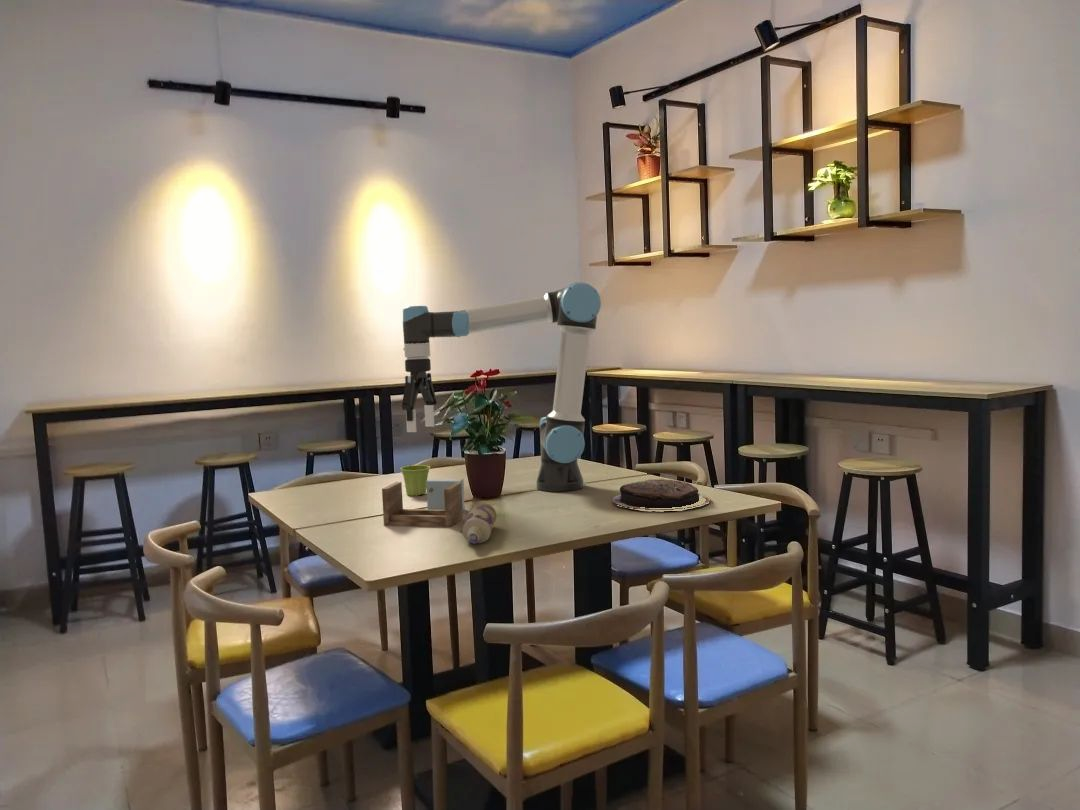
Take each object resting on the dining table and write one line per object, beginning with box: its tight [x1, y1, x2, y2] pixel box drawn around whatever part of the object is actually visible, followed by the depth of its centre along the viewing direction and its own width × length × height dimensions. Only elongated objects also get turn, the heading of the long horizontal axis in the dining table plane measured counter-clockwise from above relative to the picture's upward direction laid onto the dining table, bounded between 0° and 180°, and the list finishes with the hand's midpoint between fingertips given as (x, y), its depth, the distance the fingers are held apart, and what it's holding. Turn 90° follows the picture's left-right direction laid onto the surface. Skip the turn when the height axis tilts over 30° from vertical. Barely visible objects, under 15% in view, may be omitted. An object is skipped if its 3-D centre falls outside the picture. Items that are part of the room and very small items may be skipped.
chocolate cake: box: [611, 478, 711, 510], centre depth 242 cm, size 28×28×7 cm
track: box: [381, 481, 464, 528], centre depth 228 cm, size 19×10×10 cm, turn 77°
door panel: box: [426, 478, 466, 511], centre depth 241 cm, size 10×4×9 cm, turn 77°
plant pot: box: [400, 464, 431, 497], centre depth 268 cm, size 9×9×9 cm
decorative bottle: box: [459, 502, 498, 544], centre depth 207 cm, size 26×8×7 cm, turn 178°
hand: (421, 429), depth 252 cm, fingers open, 13 cm apart
